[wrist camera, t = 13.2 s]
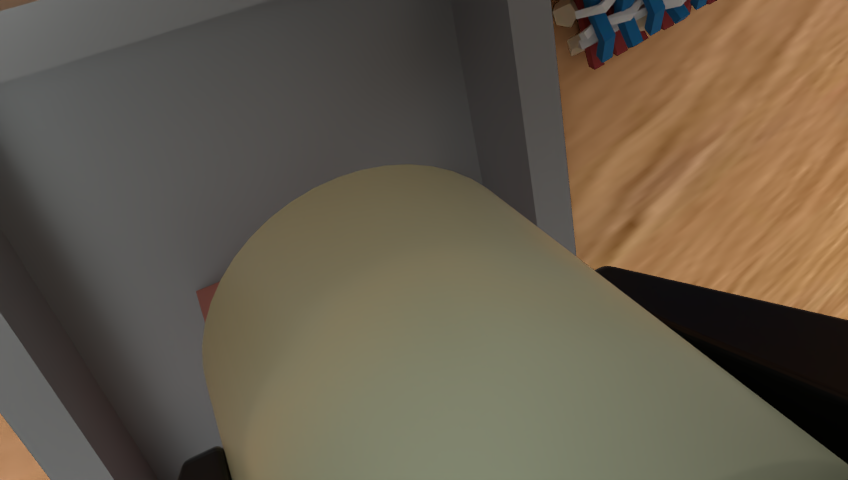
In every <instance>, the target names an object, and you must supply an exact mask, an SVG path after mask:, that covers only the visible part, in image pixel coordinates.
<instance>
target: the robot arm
mask: <svg viewBox="0 0 848 480" xmlns="http://www.w3.org/2000/svg"><path fill="white" fill-rule="evenodd" d="M595 271H596V272H597V273H598V274H600V275H601V276H602V277H604V278H605V279H606V280H608V281H609V282H610V283H611V284H613V285H614V286H615V287H617V288H618V289H619V290H621V291H622V292H623V293H625V294H626V295H627V296H628V297H630V298H631V299H632V300H634V301H635V302H636V303H638V304H639V305H640V306H642V307H643V308H644V309H645V310H647V311H648V312H649V313H651V314H652V315H653V316H655V317H656V318H657V319H659V320H660V321H661V322H662V323H664V324H665V325H666V326H668V327H669V328H670V329H672V330H673V331H674V332H676V333H677V334H678V335H679V336H681V337H682V338H683V339H685V340H686V341H687V342H689V343H690V344H691V345H692V346H694V347H695V348H696V349H698V350H699V351H700V352H702V353H703V354H704V355H706V356H707V357H708V358H709V359H711V360H712V361H713V362H715V363H716V364H717V365H719V366H720V367H721V368H723V369H724V370H725V371H726V372H728V373H729V374H730V375H732V376H733V377H734V378H736V379H737V380H738V381H740V382H741V383H742V384H743V385H745V386H746V387H747V388H749V389H750V390H751V391H753V392H754V393H755V394H756V395H758V396H759V397H760V398H762V399H763V400H764V401H766V402H767V403H768V404H770V405H771V406H772V407H773V408H775V409H776V410H777V411H779V412H780V413H781V414H783V415H784V416H785V417H787V418H788V419H789V420H790V421H792V422H793V423H794V424H796V425H797V426H798V427H800V428H801V429H802V430H804V431H805V432H806V433H807V434H809V435H810V436H811V437H813V438H814V439H815V440H817V441H818V442H819V443H821V444H822V445H823V446H824V447H826V448H827V449H828V450H830V451H831V452H832V453H834V454H835V455H836V456H837V457H839V458H840V459H841V460H843V461H844V462H845V463H847V464H848V320H845V319H841V318H836V317H832V316H828V315H823V314H819V313H814V312H810V311H806V310H801V309H797V308H792V307H788V306H784V305H779V304H775V303H770V302H766V301H762V300H757V299H753V298H748V297H744V296H740V295H735V294H731V293H726V292H722V291H718V290H713V289H709V288H704V287H700V286H696V285H691V284H687V283H682V282H678V281H674V280H669V279H665V278H660V277H656V276H651V275H647V274H643V273H638V272H634V271H629V270H625V269H621V268H616V267H611V266H604V267H601V268H598V269H596V270H595ZM177 480H232V478H231V475H230V471H229V467H228V463H227V459H226V456H225V452H224V449H223V448H222V447H220V446H215V447H213V448H210V449H208V450H206V451H204V452H202V453H200V454H198V455H195V456H193V457H191V458H189V459H187V460H186V461H185V462H184V463H183V464H182V466H181V468H180V471H179V474H178V477H177Z"/></svg>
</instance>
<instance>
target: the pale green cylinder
mask: <svg viewBox="0 0 848 480" xmlns="http://www.w3.org/2000/svg"><path fill="white" fill-rule="evenodd" d="M202 355H203V370H204V374H205V379H206V384H207V388H208V392H209V396H210V400H211V404H212V407H213V411H214V415H215V419H216V423H217V426H218V430H219V434H220V438H221V441H222V445H223V449H224V452H225V456H226V459H227V463H228V467H229V471H230V475H231V478H232V480H848V464H847V463H845V462H844V461H843V460H841V459H840V458H839V457H837V456H836V455H835V454H834V453H832V452H831V451H830V450H828V449H827V448H826V447H824V446H823V445H822V444H821V443H819V442H818V441H817V440H815V439H814V438H813V437H811V436H810V435H809V434H807V433H806V432H805V431H804V430H802V429H801V428H800V427H798V426H797V425H796V424H794V423H793V422H792V421H790V420H789V419H788V418H787V417H785V416H784V415H783V414H781V413H780V412H779V411H777V410H776V409H775V408H773V407H772V406H771V405H770V404H768V403H767V402H766V401H764V400H763V399H762V398H760V397H759V396H758V395H756V394H755V393H754V392H753V391H751V390H750V389H749V388H747V387H746V386H745V385H743V384H742V383H741V382H740V381H738V380H737V379H736V378H734V377H733V376H732V375H730V374H729V373H728V372H726V371H725V370H724V369H723V368H721V367H720V366H719V365H717V364H716V363H715V362H713V361H712V360H711V359H709V358H708V357H707V356H706V355H704V354H703V353H702V352H700V351H699V350H698V349H696V348H695V347H694V346H692V345H691V344H690V343H689V342H687V341H686V340H685V339H683V338H682V337H681V336H679V335H678V334H677V333H676V332H674V331H673V330H672V329H670V328H669V327H668V326H666V325H665V324H664V323H662V322H661V321H660V320H659V319H657V318H656V317H655V316H653V315H652V314H651V313H649V312H648V311H647V310H645V309H644V308H643V307H642V306H640V305H639V304H638V303H636V302H635V301H634V300H632V299H631V298H630V297H628V296H627V295H626V294H625V293H623V292H622V291H621V290H619V289H618V288H617V287H615V286H614V285H613V284H611V283H610V282H609V281H608V280H606V279H605V278H604V277H602V276H601V275H600V274H598V273H597V272H596V271H595V270H593V269H592V268H591V267H589V266H588V265H587V264H585V263H584V262H583V261H581V260H580V259H579V258H578V257H576V256H575V255H574V254H572V253H571V252H570V251H568V250H567V249H566V248H564V247H563V246H562V245H561V244H559V243H558V242H557V241H555V240H554V239H553V238H551V237H550V236H549V235H547V234H546V233H545V232H544V231H542V230H541V229H540V228H538V227H537V226H536V225H534V224H533V223H532V222H531V221H529V220H528V219H527V218H525V217H524V216H523V215H521V214H520V213H519V212H517V211H516V210H515V209H514V208H512V207H511V206H510V205H508V204H507V203H506V202H504V201H503V200H502V199H500V198H499V197H498V196H497V195H495V194H494V193H493V192H491V191H490V190H489V189H487V188H486V187H484V186H482V185H481V184H479V183H477V182H476V181H474V180H473V179H471V178H468V177H466V176H463V175H461V174H458V173H456V172H453V171H450V170H446V169H442V168H437V167H433V166H424V165H412V164H405V165H386V166H380V167H375V168H369V169H364V170H360V171H356V172H353V173H350V174H347V175H344V176H341V177H337V178H335V179H333V180H331V181H328V182H326V183H324V184H322V185H320V186H317V187H315V188H313V189H311V190H310V191H308V192H306V193H305V194H303V195H301V196H300V197H298V198H296V199H295V200H293V201H291V202H290V203H289V204H287V205H286V206H285V207H284V208H282V209H281V210H280V211H278V212H277V213H276V214H274V215H273V216H272V217H271V218H269V219H268V220H267V221H266V222H265V223H264V224H263V225H262V226H261V227H260V228H259V229H258V230H257V231H256V232H255V233H254V234H253V235H252V236H251V237H250V238H249V239H248V241H247V242H246V243H245V245H244V246H243V247H242V248H241V250H240V251H239V252H238V253H237V255H236V256H235V257H234V259H233V260H232V262H231V263H230V265H229V267H228V268H227V270H226V272H225V273H224V275H223V277H222V278H221V280H220V282H219V285H218V287H217V289H216V292H215V294H214V296H213V298H212V301H211V304H210V307H209V311H208V314H207V318H206V322H205V327H204V335H203V343H202Z"/></svg>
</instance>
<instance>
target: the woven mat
mask: <svg viewBox="0 0 848 480" xmlns="http://www.w3.org/2000/svg"><path fill="white" fill-rule="evenodd" d="M715 1H717V0H560V1H559V2H557V3H556V4H555V6H554V9H553V11H552V12H553V16H554V19H555V22H556V25H561V26H566V27H571V26H572V24H573V23H574V21H575V19H578V23H579V27H580V31H581V32H580V33H578V34H577V35H575V36H573V37H571V38H570V39H568V40H567V43H568V47H569V51H570V54H571V56H574V55H576V54H578V53H580V52H583V51H585V52H586V57H587V61H588V65H589V67H591V68H593V69H594V70H595V69H597V68H599V67H600V66H602V65H604V62H605V61H607V60H608V59H610V58H612V56H613V54H615V55H617V56H618V55H620V54H621V53H623V52H625V51H627V50H628V49H627V47H628V48H630V47H634V46H635V45H637V44H639V43H641V42H642V41H644V40H646V39H647V38H648V36H647V34H646V33H645V30H646V31H647V32H648V33H649V35H650V36H651V35H653V34H655V33H656V32H658V31H660V30H661V29H663V30H665V29H667V28H669V27H671V26H673V25H674V23H675V24H676V23H678V22H680V21H682V20H684V19H685V18H686V17H687V16H688V15H689V14H690V11H691V5H692V6H693V7H694V8H695V9H696V10H697V9H699V8H701V7H702V6H704V5H706V4H711V3H713V2H715Z"/></svg>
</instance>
